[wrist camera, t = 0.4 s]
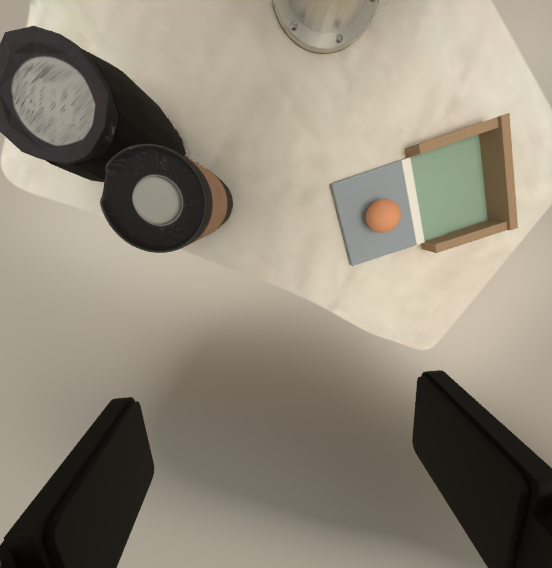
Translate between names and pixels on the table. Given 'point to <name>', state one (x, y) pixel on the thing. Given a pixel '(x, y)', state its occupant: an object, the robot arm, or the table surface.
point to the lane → (434, 193)
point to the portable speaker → (73, 104)
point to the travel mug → (162, 198)
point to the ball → (383, 215)
